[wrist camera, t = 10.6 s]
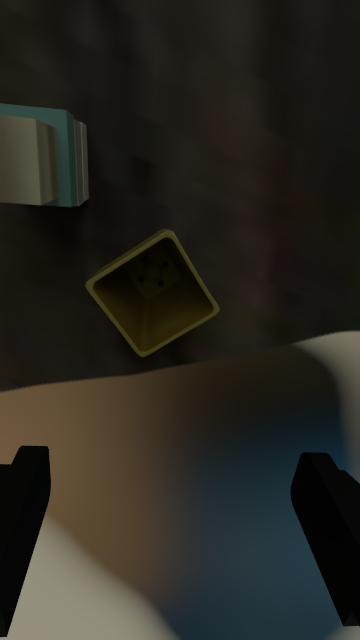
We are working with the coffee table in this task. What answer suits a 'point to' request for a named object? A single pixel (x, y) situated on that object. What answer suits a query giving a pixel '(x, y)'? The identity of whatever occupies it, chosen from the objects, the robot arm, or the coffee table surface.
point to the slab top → (64, 147)
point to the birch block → (28, 161)
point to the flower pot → (153, 293)
